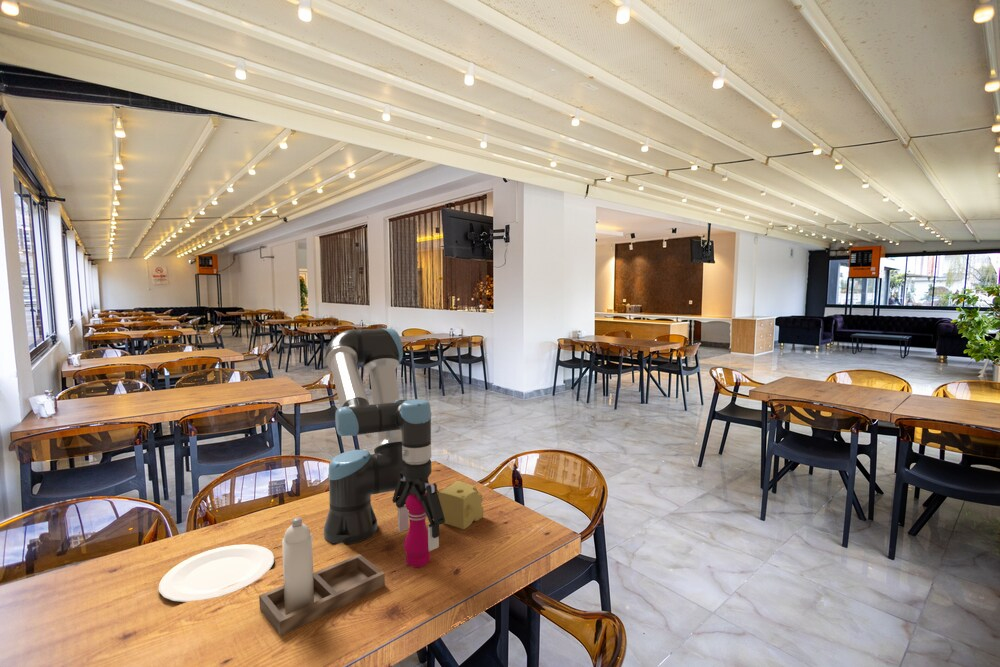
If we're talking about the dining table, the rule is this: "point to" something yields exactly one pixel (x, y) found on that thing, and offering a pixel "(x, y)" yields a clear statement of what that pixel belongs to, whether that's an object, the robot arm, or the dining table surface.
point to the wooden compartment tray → (324, 593)
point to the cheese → (461, 504)
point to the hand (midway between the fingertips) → (417, 539)
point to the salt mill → (297, 567)
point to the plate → (216, 572)
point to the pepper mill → (416, 534)
